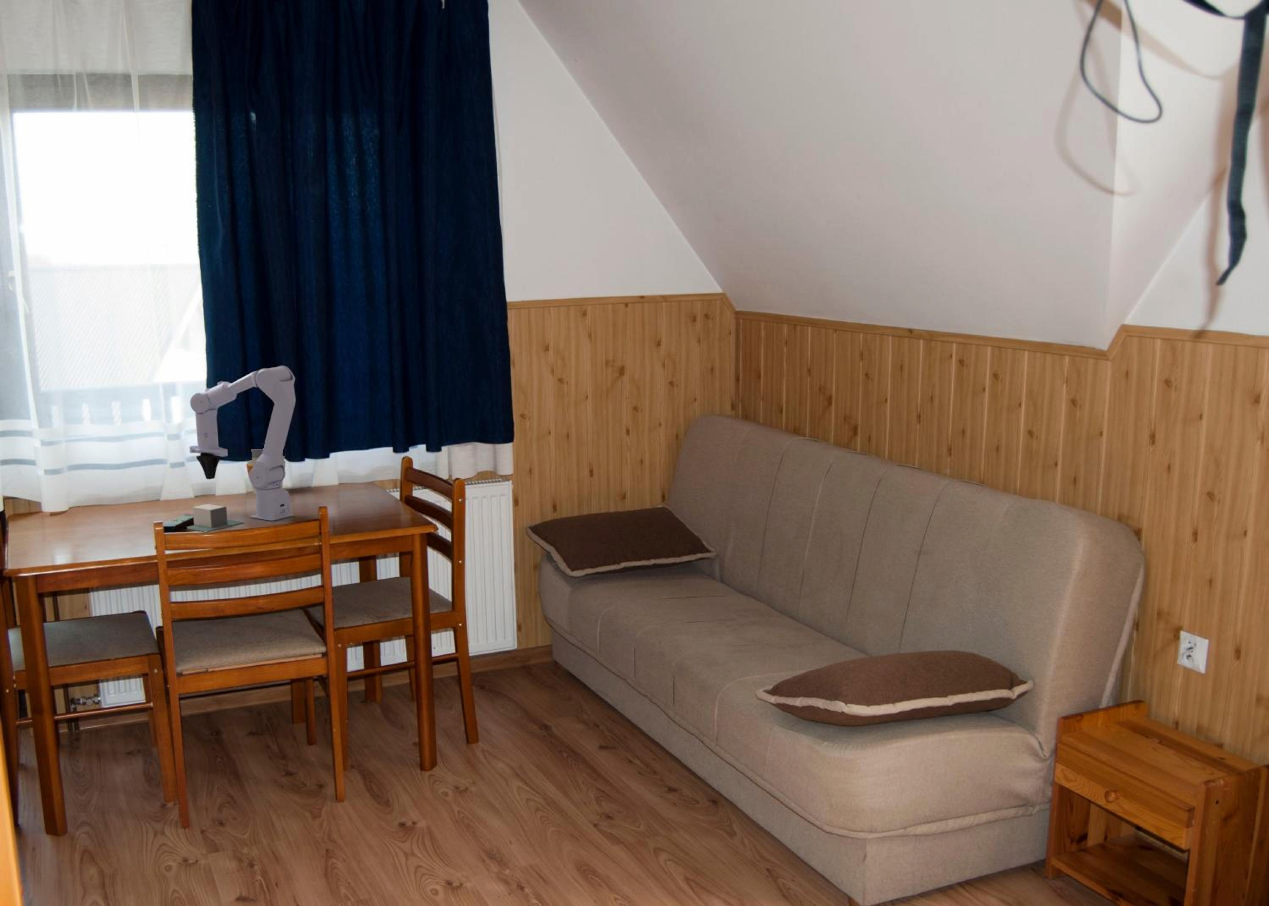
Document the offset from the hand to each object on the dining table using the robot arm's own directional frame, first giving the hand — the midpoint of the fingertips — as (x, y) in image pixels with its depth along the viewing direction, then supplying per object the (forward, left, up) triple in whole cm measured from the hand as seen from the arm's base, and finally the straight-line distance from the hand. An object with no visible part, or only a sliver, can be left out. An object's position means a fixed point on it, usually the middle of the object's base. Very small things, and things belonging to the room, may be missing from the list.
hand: (210, 478), depth 342 cm
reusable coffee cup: (+11, -30, -11) cm, 34 cm away
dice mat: (-14, +11, -10) cm, 21 cm away
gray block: (-9, +11, -8) cm, 16 cm away
